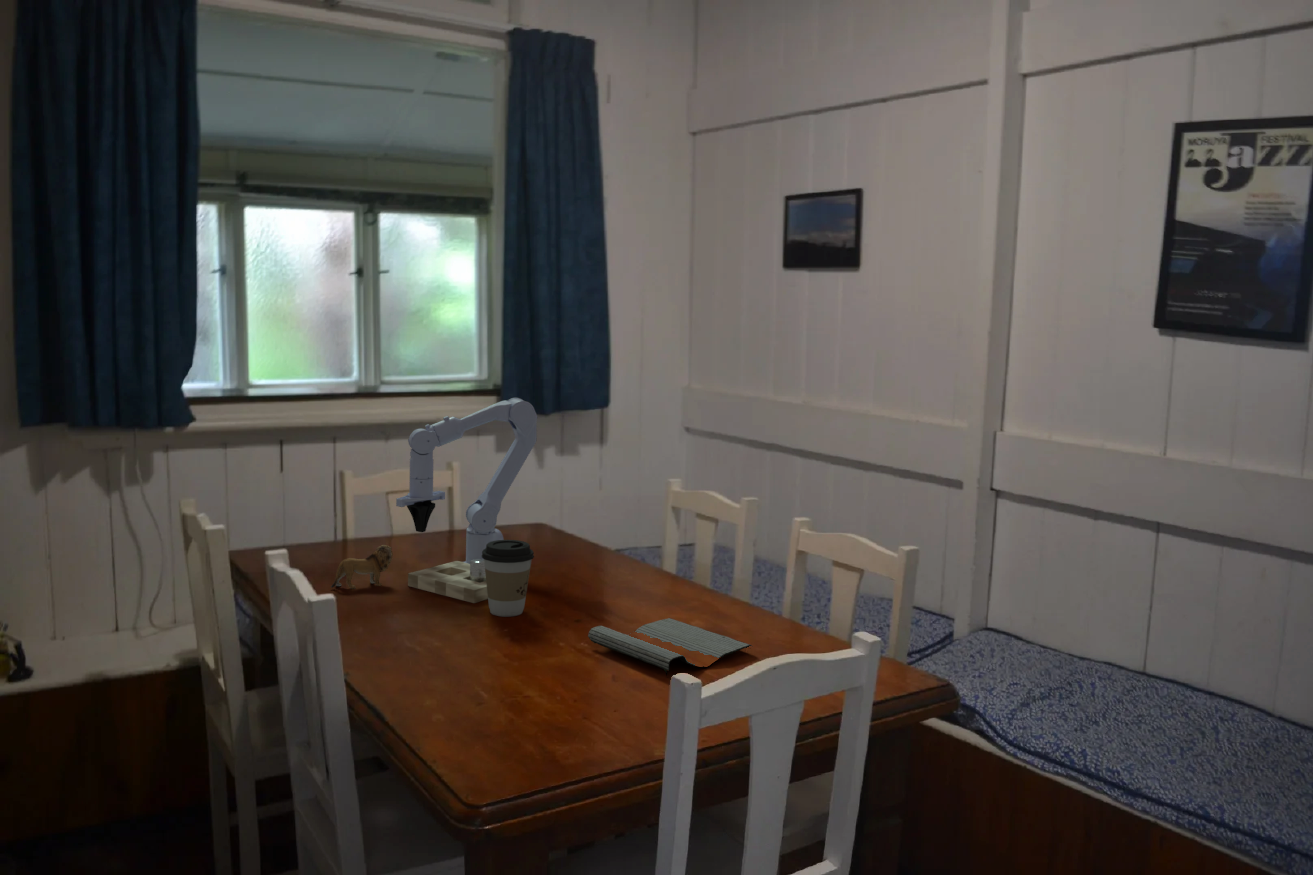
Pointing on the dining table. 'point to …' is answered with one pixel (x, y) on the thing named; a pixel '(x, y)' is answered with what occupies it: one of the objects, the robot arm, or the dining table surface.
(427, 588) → the jig plate
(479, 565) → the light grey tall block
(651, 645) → the mat
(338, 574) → the lion figurine
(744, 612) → the dining table surface
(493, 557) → the coffee cup
